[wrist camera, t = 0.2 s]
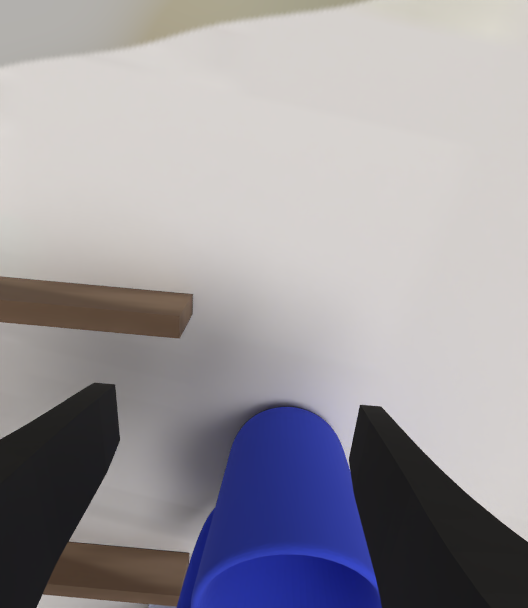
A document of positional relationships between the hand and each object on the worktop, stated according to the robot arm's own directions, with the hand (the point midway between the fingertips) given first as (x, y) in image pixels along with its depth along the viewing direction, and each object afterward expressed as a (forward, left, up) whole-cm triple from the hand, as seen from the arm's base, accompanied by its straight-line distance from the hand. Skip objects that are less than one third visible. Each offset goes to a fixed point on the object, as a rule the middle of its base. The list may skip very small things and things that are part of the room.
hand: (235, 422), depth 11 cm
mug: (-11, -2, -11) cm, 16 cm away
